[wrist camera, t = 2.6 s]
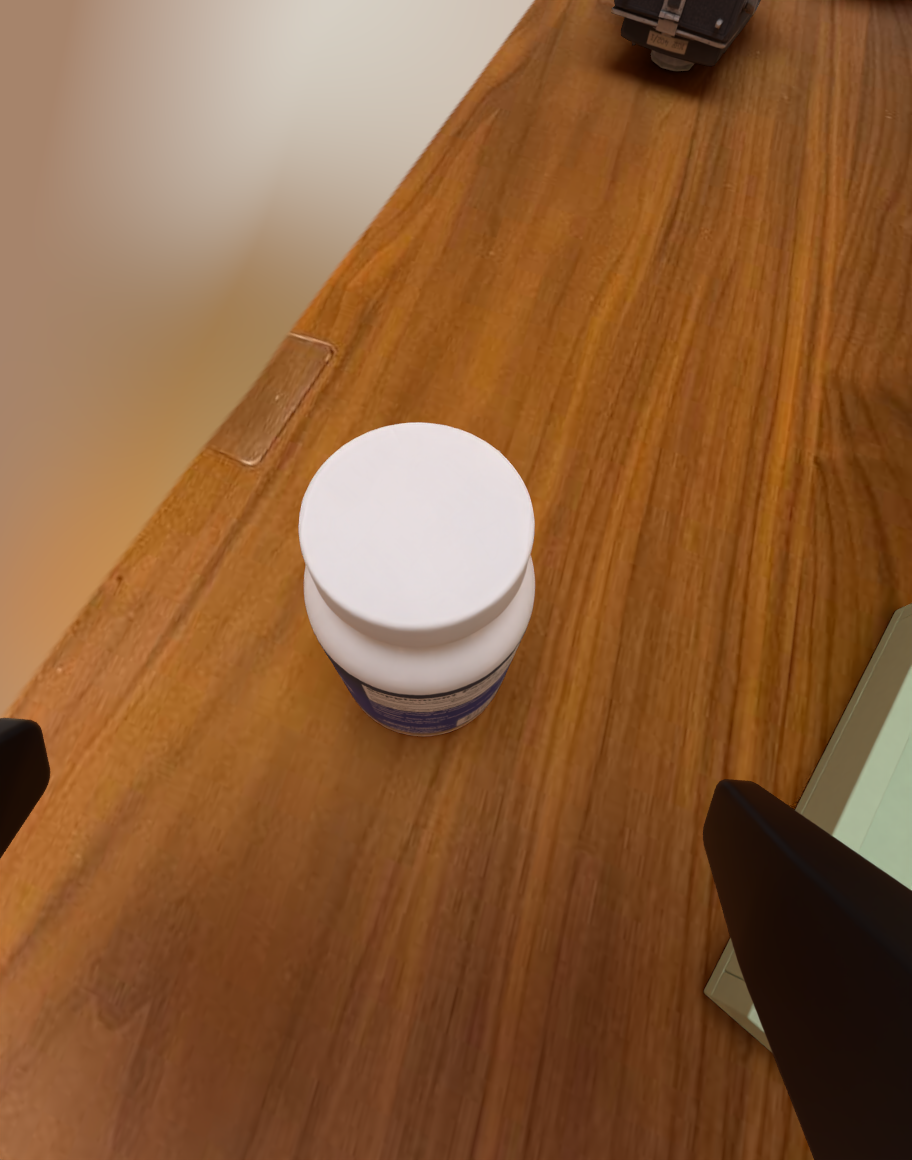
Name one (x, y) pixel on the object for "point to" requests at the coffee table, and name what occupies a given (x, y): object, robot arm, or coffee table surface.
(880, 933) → the robot arm
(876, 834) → the tray
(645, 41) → the camera
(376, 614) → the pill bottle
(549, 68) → the coffee table surface
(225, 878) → the coffee table surface
